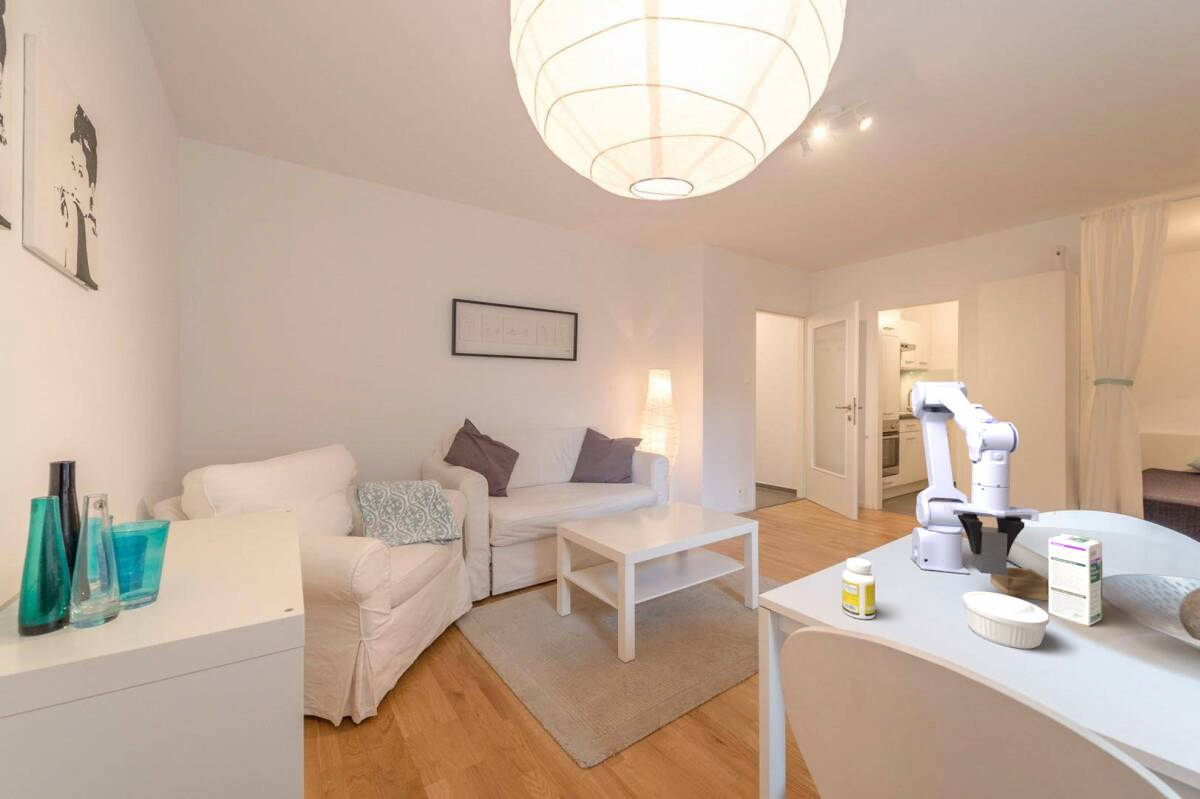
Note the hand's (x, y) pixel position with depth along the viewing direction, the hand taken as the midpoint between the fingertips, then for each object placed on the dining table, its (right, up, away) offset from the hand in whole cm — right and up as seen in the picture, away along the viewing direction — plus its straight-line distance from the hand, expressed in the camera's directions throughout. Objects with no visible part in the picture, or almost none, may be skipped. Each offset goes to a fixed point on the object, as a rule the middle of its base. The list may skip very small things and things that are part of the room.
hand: (988, 553), depth 92 cm
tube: (+23, -10, +14) cm, 29 cm away
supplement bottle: (-28, -10, -4) cm, 30 cm away
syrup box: (+12, -10, -5) cm, 16 cm away
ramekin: (-7, -11, -11) cm, 17 cm away
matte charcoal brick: (0, -3, 0) cm, 3 cm away
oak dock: (+11, -10, +6) cm, 16 cm away
